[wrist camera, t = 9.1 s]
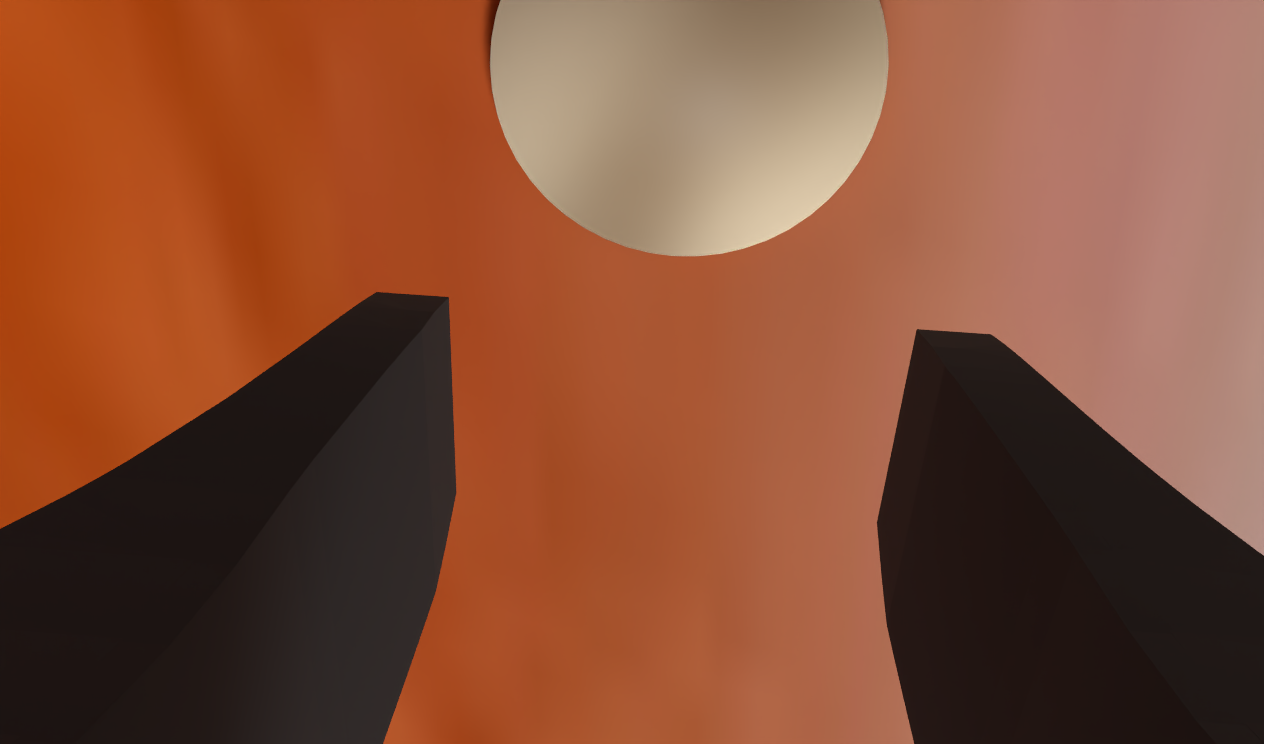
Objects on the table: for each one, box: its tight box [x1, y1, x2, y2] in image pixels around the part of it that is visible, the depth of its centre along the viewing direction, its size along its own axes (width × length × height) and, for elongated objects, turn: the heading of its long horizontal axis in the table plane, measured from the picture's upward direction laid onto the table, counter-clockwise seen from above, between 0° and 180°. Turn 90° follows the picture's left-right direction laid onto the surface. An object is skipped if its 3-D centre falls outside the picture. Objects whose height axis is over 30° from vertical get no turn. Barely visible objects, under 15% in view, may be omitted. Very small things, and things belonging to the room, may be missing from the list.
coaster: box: [490, 0, 889, 256], centre depth 18 cm, size 6×6×1 cm
